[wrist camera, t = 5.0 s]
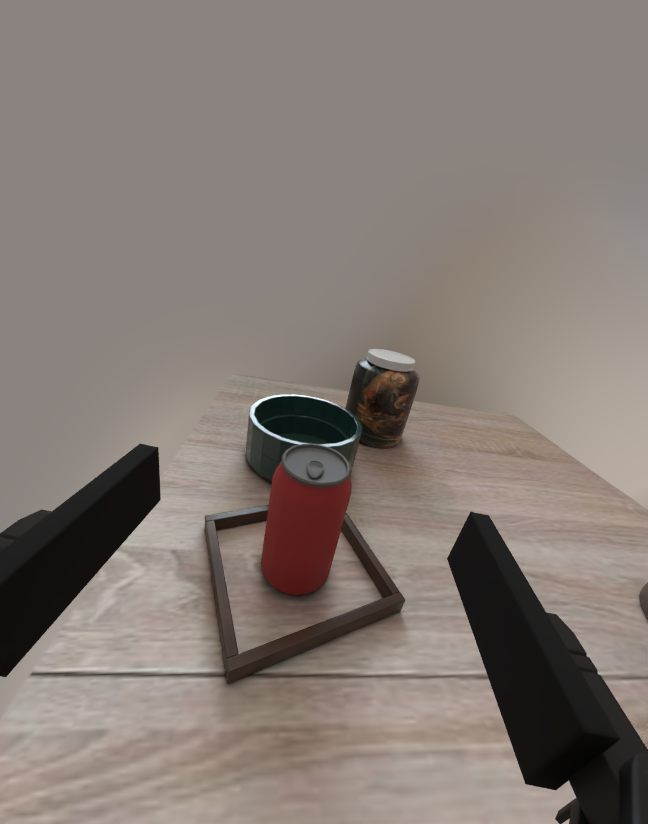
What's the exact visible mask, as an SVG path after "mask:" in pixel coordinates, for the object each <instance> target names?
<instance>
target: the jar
mask: <svg viewBox="0 0 648 824" xmlns="http://www.w3.org/2000/svg"><path fill="white" fill-rule="evenodd" d="M414 364H415V361H414V359H412V358H410V357H408V356H406V355H403V354H400V353H397V352H393V351H388V350H382V349H371V350H369V352H368V357H367V358H365V359H361V360H359V361H358V363H357V365H356V368H355V371H354V375H353V379H352V383H351V387H350V391H349V395H348V400H347V404H346V408H345V409H347V410H349V411H350V412H351V413H353V414H354V415H355V416H356V417H357V418H358V419H359V421H360V423H361V425H362V432H361V437H360V441H359V443H362V444H365V445H368V446H372V447H378V448H389V447H393V446H396V445H397V444H398V443H399V442H400V440H401V437H402V434H403V431H404V428H405V425H406V422H407V419H408V416H409V413H410V410H411V407H412V403H413V400H414V397H415V394H416V390H417V387H418V383H419V375H418V373H416V372H415V371H414V370H413V367H414Z"/></svg>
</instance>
